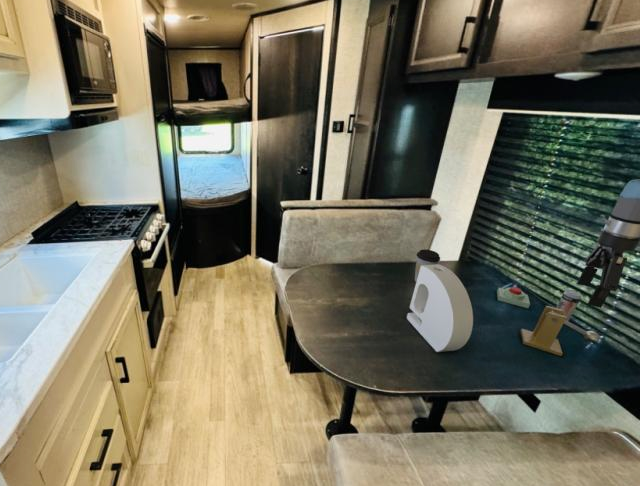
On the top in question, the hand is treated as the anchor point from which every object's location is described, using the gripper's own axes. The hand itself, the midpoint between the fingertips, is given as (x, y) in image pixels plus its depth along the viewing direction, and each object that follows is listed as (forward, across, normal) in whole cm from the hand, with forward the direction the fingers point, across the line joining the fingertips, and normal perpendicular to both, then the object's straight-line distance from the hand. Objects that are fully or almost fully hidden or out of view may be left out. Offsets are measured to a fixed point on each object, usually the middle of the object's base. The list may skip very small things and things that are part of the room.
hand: (588, 294), depth 99 cm
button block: (+22, -27, -11) cm, 37 cm away
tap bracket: (+22, 0, -5) cm, 23 cm away
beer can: (+23, -22, +4) cm, 32 cm away
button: (+19, -27, -11) cm, 35 cm away
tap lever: (+14, 0, 0) cm, 14 cm away
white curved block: (+22, +18, -37) cm, 47 cm away
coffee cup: (+22, -21, -45) cm, 54 cm away
